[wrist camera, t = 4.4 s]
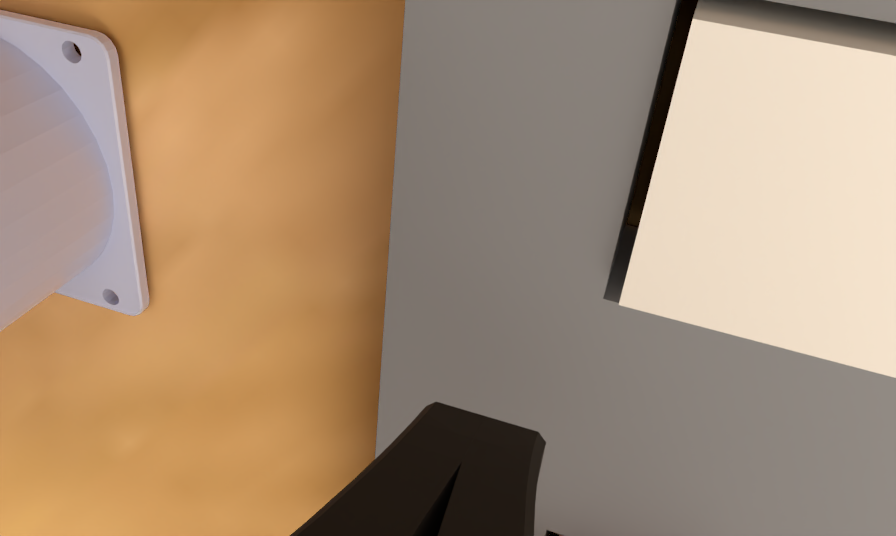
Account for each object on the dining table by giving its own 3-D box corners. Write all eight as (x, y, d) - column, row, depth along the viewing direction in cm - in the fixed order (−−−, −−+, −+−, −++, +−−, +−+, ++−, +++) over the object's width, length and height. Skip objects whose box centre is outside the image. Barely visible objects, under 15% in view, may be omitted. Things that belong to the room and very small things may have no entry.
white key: (640, 226, 17) (618, 304, 14) (705, -25, 14) (692, 18, 12) (901, 289, 16) (925, 385, 13) (1027, 30, 13) (1086, 91, 10)
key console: (397, 596, 27) (360, 680, 24) (488, -298, 13) (425, -312, 11) (850, 761, 24) (860, 876, 21) (1535, -186, 10) (1771, -174, 8)
